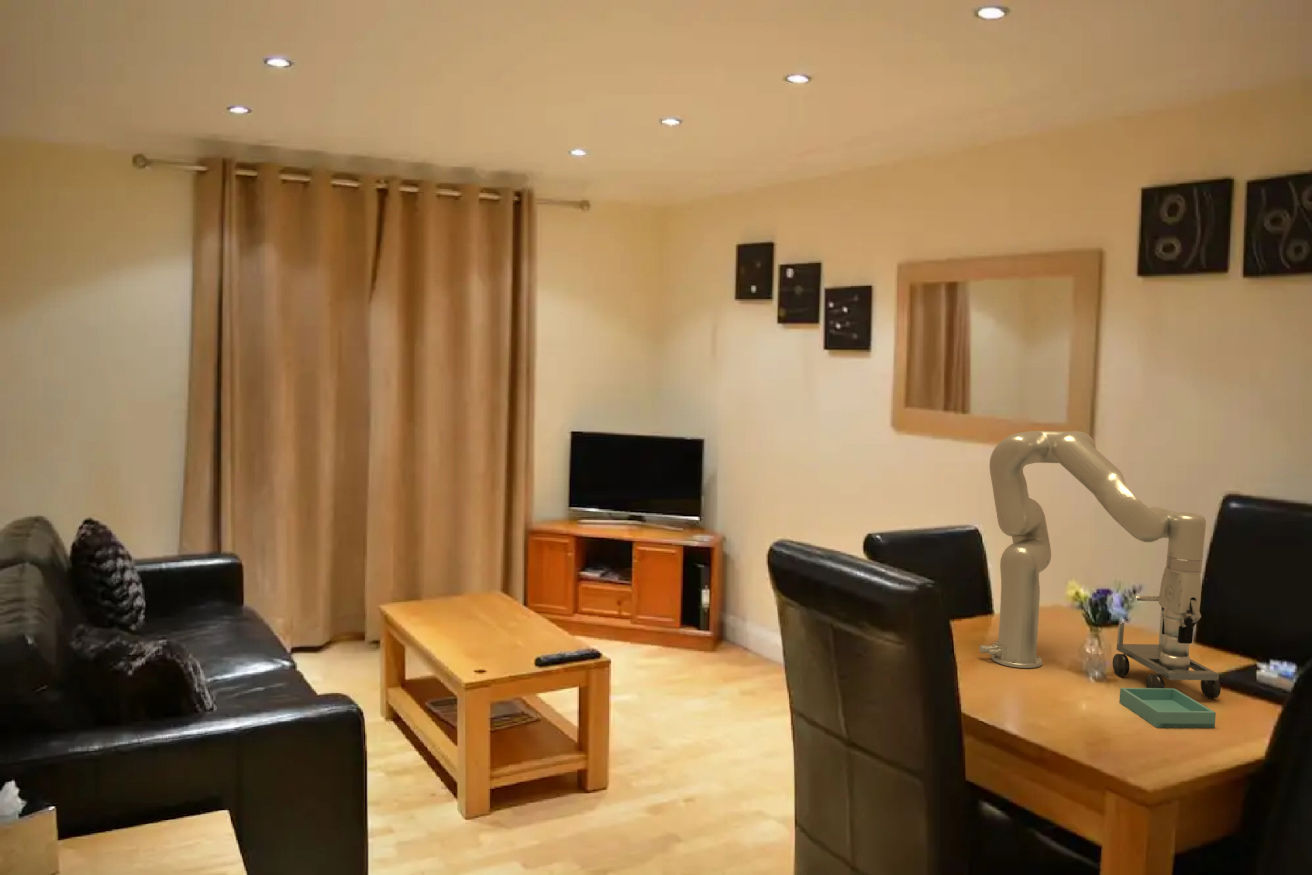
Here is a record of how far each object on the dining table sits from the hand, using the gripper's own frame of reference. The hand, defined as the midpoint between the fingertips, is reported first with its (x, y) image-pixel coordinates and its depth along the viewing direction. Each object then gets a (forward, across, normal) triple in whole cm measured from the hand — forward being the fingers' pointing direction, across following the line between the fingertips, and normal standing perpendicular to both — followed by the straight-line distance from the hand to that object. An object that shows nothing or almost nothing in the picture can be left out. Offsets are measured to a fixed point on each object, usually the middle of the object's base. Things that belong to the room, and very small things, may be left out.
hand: (1176, 638), depth 246 cm
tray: (+13, +16, -10) cm, 23 cm away
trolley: (+13, -6, +1) cm, 14 cm away
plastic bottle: (+9, 0, 0) cm, 9 cm away
